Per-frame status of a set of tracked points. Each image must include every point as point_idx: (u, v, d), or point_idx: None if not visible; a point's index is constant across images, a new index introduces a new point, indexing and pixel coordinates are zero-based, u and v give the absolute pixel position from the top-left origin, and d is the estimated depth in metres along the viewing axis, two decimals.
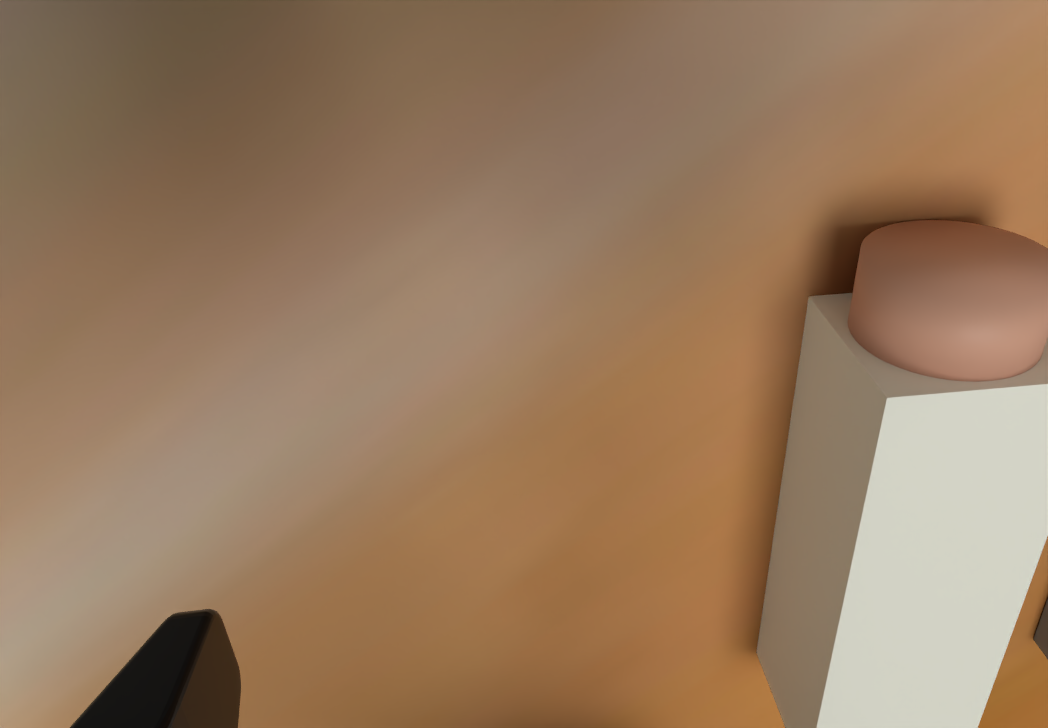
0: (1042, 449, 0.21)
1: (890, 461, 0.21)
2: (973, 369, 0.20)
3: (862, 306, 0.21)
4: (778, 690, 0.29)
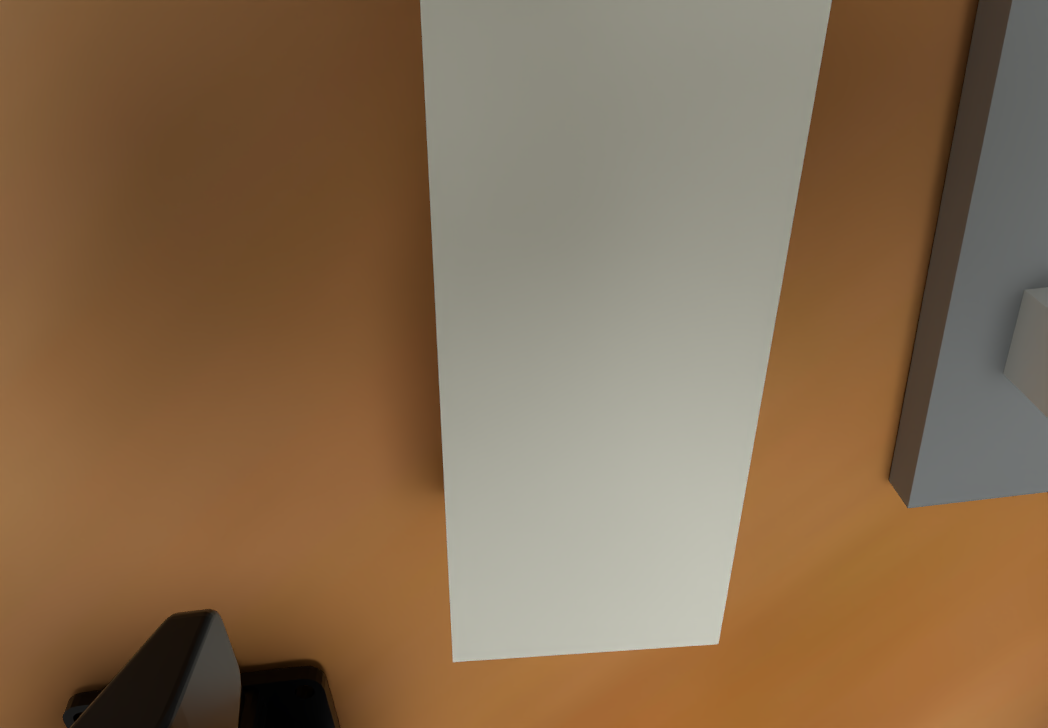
0: None
1: None
2: None
3: None
4: None
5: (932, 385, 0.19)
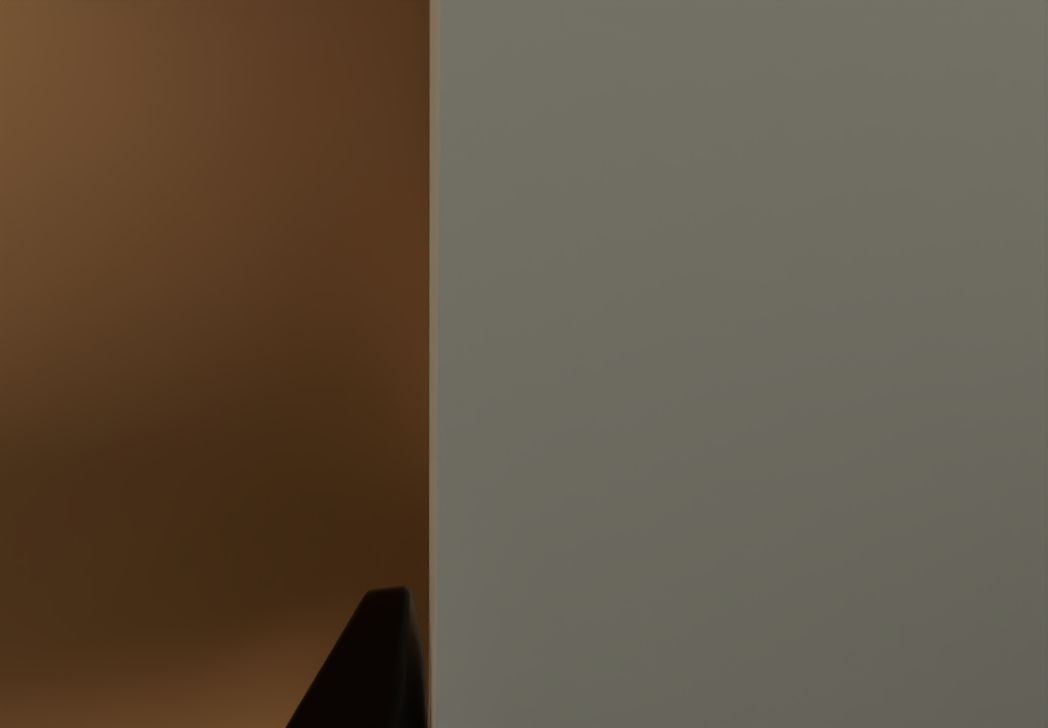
0: None
1: (577, 324, 0.03)
2: None
3: None
4: None
5: None
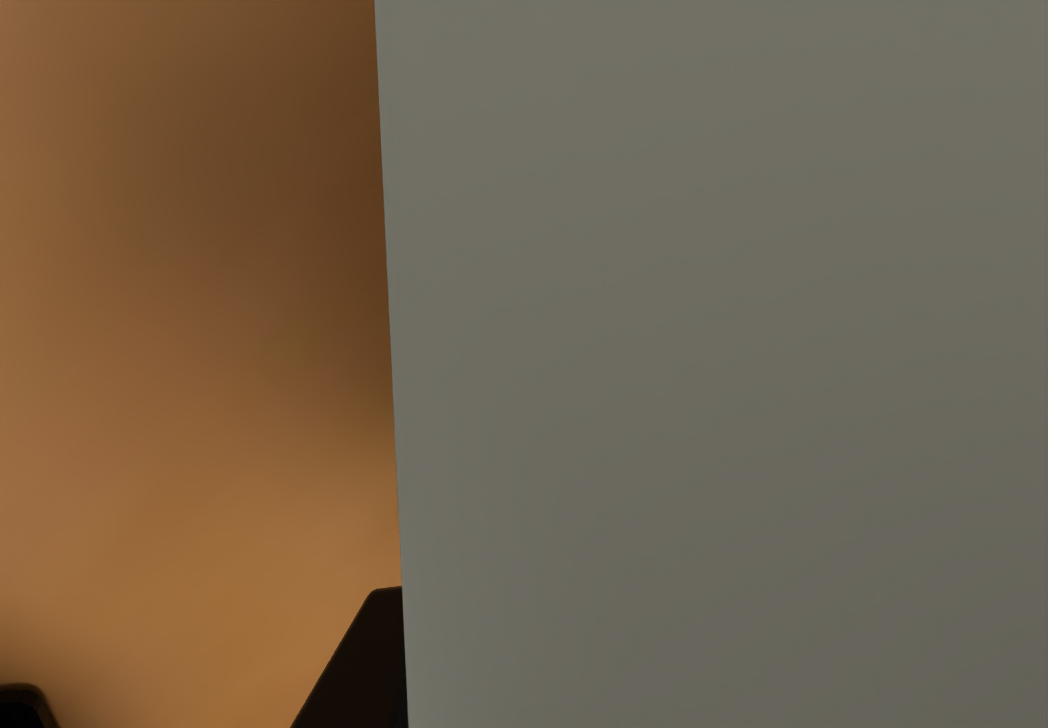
0: None
1: (534, 347, 0.03)
2: None
3: None
4: None
5: None
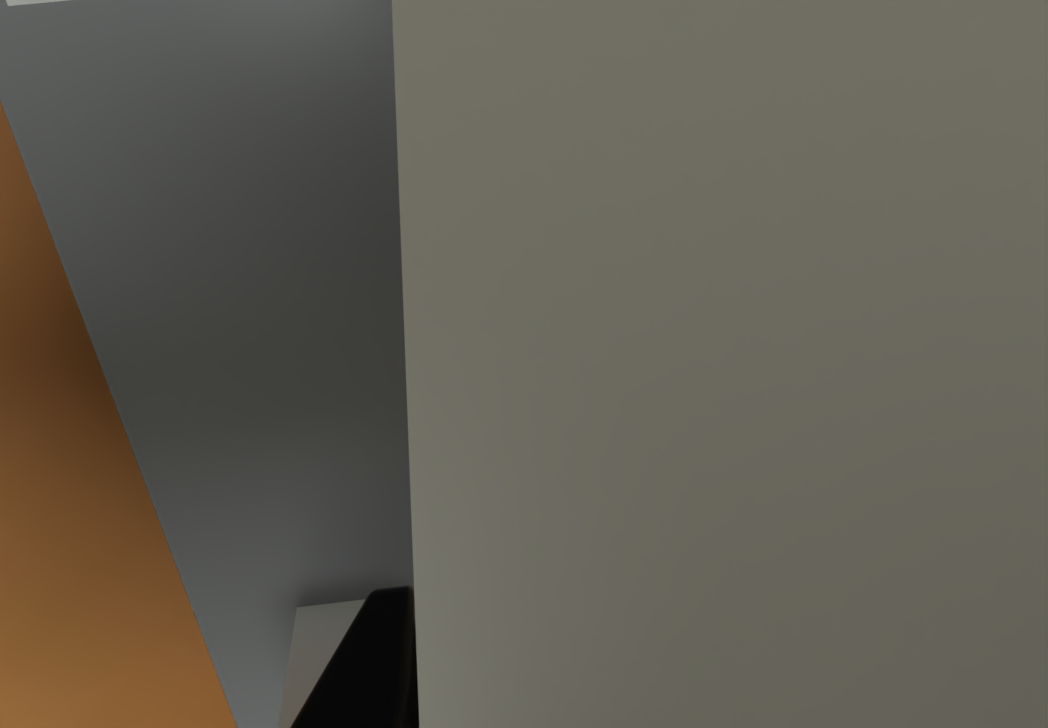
0: None
1: (547, 340, 0.03)
2: None
3: None
4: None
5: (230, 709, 0.15)
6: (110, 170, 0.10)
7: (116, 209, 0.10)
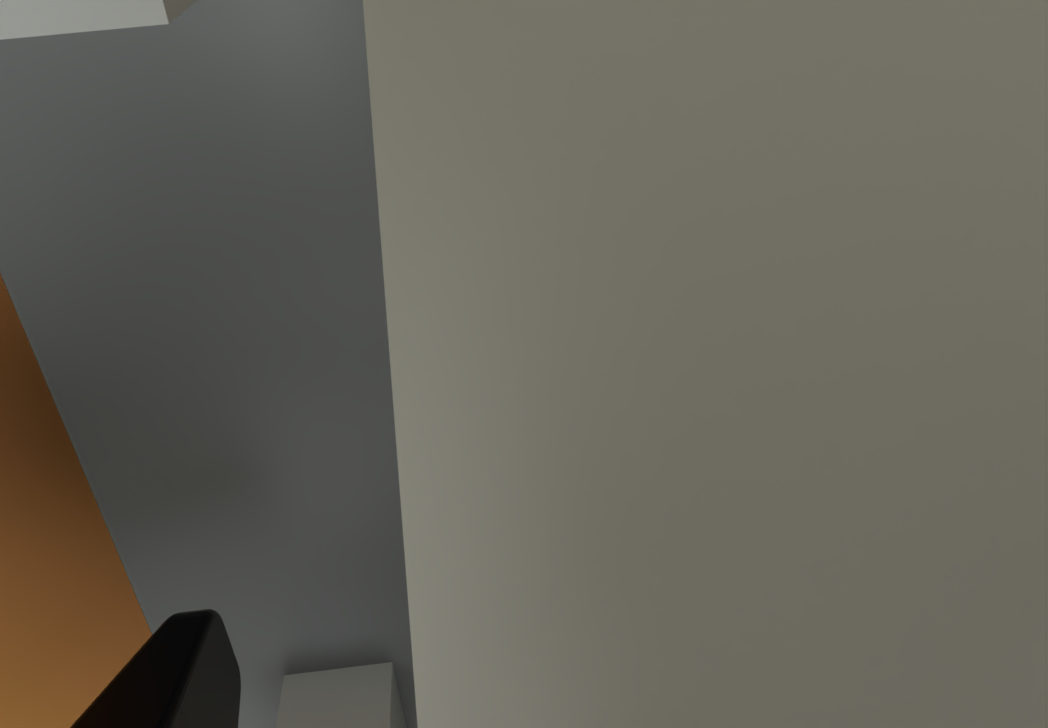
0: None
1: (474, 190, 0.04)
2: None
3: None
4: None
5: None
6: (70, 215, 0.09)
7: (78, 257, 0.09)
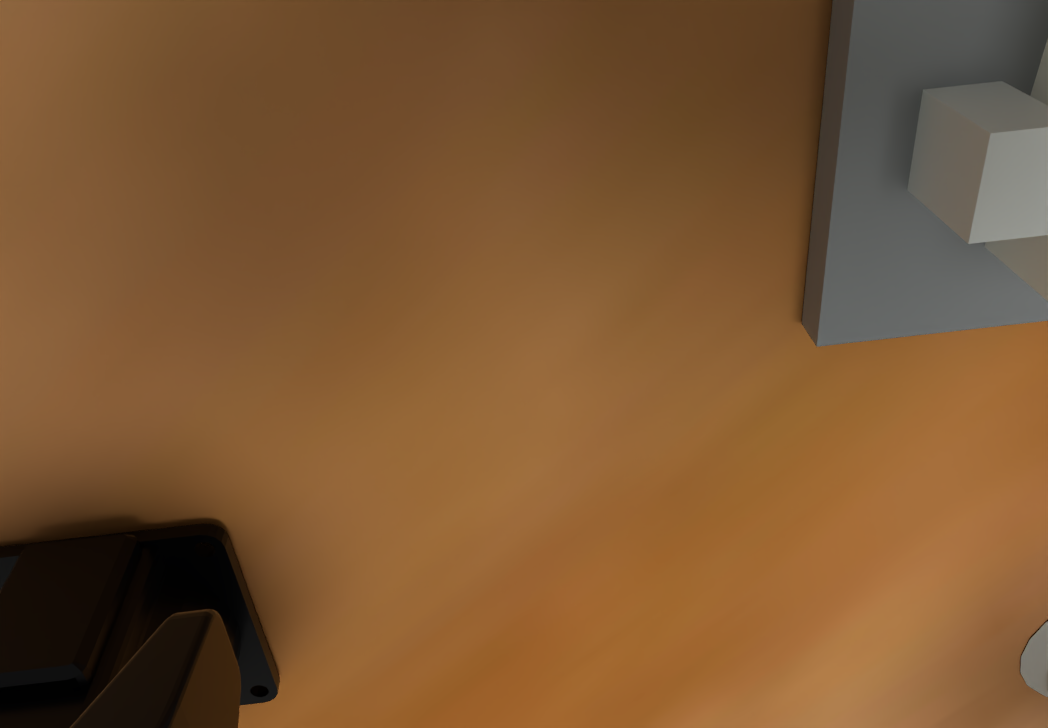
0: None
1: None
2: None
3: None
4: None
5: (831, 202, 0.18)
6: None
7: None
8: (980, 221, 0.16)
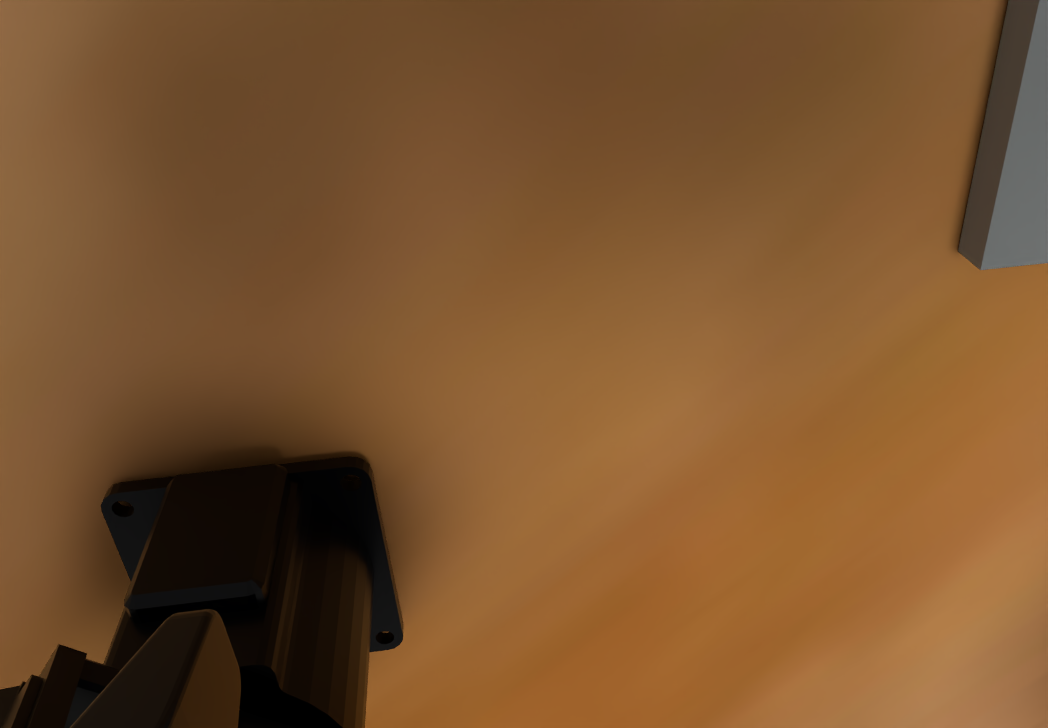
0: None
1: None
2: None
3: None
4: None
5: (1012, 119, 0.18)
6: None
7: None
8: None
